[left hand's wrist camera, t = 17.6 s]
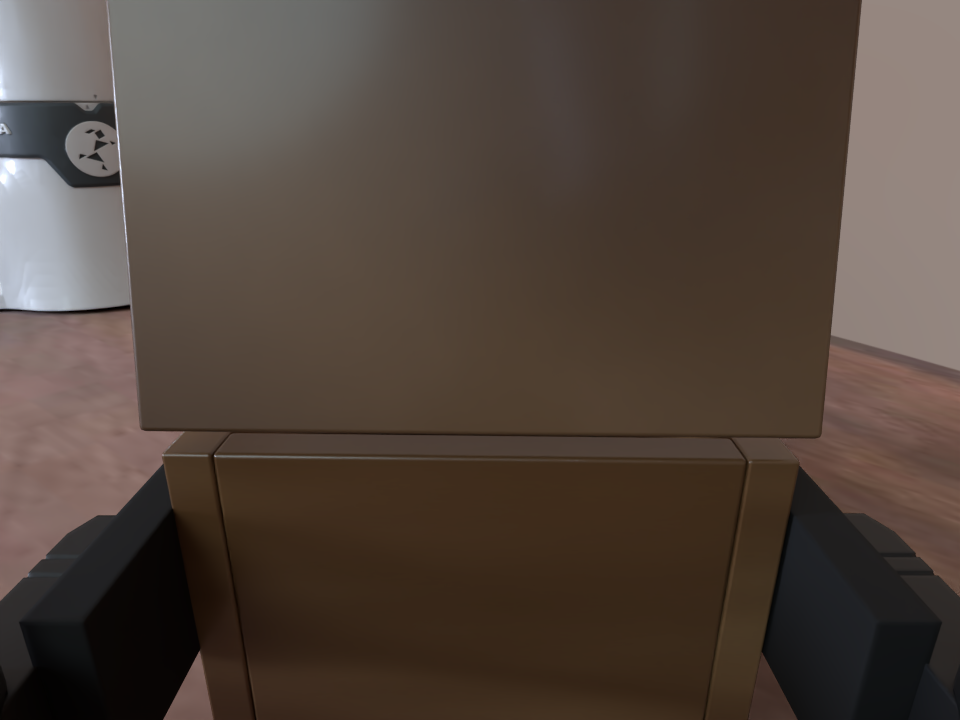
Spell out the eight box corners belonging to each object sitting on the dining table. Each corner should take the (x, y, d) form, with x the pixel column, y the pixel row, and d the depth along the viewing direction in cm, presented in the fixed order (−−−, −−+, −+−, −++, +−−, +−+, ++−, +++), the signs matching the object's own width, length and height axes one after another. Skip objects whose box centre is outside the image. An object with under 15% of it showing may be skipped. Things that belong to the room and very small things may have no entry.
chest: (368, 479, 25) (353, 258, 22) (604, 483, 25) (622, 259, 22) (238, 855, 12) (160, 453, 9) (719, 867, 12) (801, 461, 9)
